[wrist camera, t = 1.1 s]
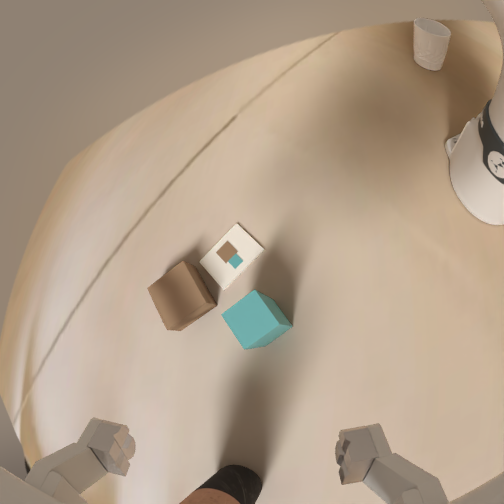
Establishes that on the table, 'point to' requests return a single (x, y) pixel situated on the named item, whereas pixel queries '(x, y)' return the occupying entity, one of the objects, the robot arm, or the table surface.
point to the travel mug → (228, 487)
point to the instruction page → (231, 256)
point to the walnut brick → (181, 296)
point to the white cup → (430, 43)
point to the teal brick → (256, 320)
